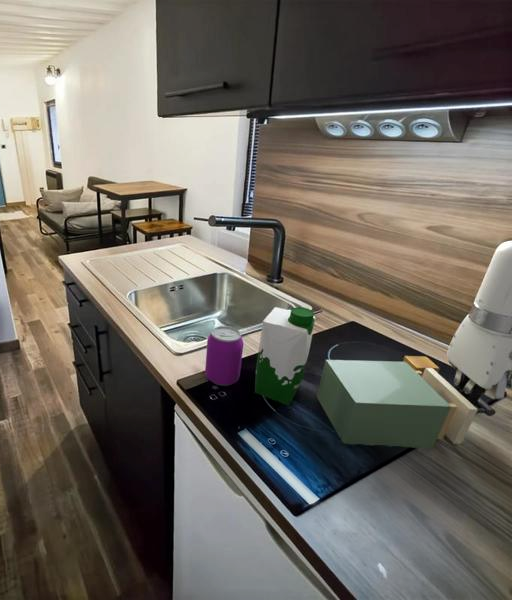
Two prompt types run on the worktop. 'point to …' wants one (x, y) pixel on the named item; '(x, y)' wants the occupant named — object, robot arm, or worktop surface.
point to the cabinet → (381, 403)
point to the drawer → (455, 407)
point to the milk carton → (283, 353)
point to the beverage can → (224, 355)
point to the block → (420, 363)
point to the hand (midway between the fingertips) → (460, 406)
